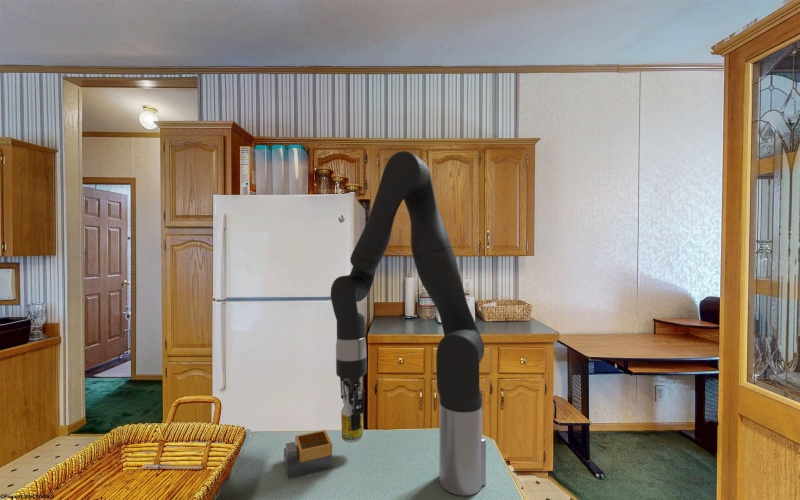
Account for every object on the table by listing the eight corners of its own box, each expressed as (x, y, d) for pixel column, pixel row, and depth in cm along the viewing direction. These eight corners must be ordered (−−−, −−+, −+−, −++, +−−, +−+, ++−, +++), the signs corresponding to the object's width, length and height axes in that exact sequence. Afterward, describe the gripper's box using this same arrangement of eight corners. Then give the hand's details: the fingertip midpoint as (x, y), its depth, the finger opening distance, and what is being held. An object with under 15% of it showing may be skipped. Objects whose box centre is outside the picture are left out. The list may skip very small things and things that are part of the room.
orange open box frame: (325, 451, 90) (325, 429, 90) (332, 468, 83) (332, 444, 83) (283, 460, 86) (283, 438, 86) (287, 479, 79) (287, 454, 79)
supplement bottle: (357, 430, 92) (356, 392, 92) (367, 438, 88) (366, 399, 88) (338, 436, 89) (337, 397, 89) (347, 445, 85) (346, 405, 85)
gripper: (375, 360, 84) (376, 433, 83) (357, 346, 97) (358, 409, 97) (344, 365, 81) (345, 440, 80) (329, 350, 94) (330, 415, 93)
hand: (352, 423), depth 88 cm, fingers closed on supplement bottle, 5 cm apart
